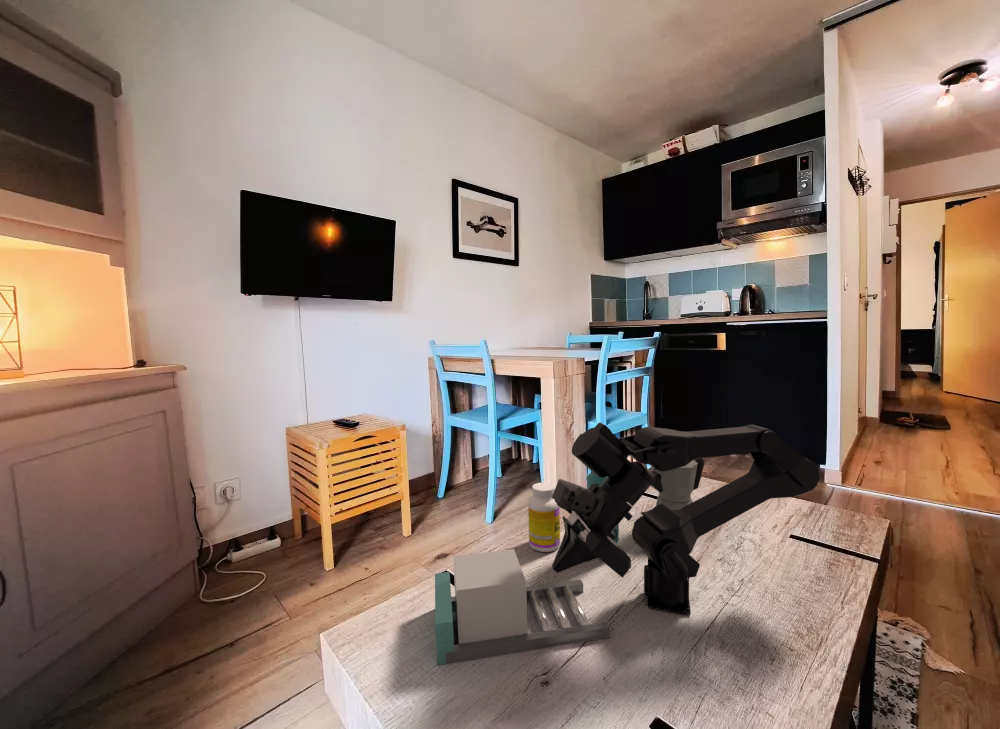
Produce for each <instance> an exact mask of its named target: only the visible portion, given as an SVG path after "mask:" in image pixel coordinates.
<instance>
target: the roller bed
mask: <svg viewBox="0 0 1000 729" xmlns="http://www.w3.org/2000/svg"><path fill="white" fill-rule="evenodd" d="M450 574H451V573H450V571H447V572H438V573H437V572H436V573H434V624H435V626H434V627H435V628H434V629H435V630H434V631H435V645H436V647H435V649H436V666H443V665H447V664H454V663H455V664H456V663H461V662H466V661H471V660H480V659H484V658H492V657H498V656H504V655H509V654H516V653H522V652H528V651H535V650H536V651H537V650H542V649H549V648H553V647H560V646H567V645H572V644H578V643H586V642H591V641H599V640H602V639H603V640H604V639H609V638H610V637H611V634H610V631H611V630H610V625H609V624H608V623H607V621H603V622H597V623H590V622H589V620H588V618H587V616H586V614H585V612H584V610H583V608H582V607H581V605H580V603H579V601H578V599H577V597H576V596H575V594H580V593H584V582H583V581H582V579H575V580H573V579H572V580H567V581H566V580H565V581H559V582H552V583H545V584H544V583H543V584H538V585H536V584H535V585H530V586H526V596H527V601H529V602H530V605H531V607H532V609H533V611H534V615H535V618H536V621H537V624H538V626H539V629H540V631H538V632H532V628H531V626H530V623H529V620H528V618H527V629H528V634H522V635H516V636H509V637H503V638H496V639H490V640H483V641H477V642H470V643H464V644H459V643H458V644H455V641H454V640H455V639H454V638H455V637H454V619H453V611H456V603H455V595H454V596H452V592H451V591H452V590H451V589H452V588H451V575H450ZM561 596H564V598H565V599H566V601H567V604H568V605H569V608H570V609H571V611H572V612H571V613H573V616H574V618H575V619H576V621H577V624H578V625H577V626H571V624H570V622H569V620H568V618H567V616H566V613H565V612H564V609H563V607H562V605H561V603H560V601H559V598H558V597H561ZM545 598H547V601H548V602H549V605H550V607H551V610H552V612H553V614H554V617H555V619H556V621H557V623H558V626H559V628H558V629H557V628H556V629H552V627H551V625H550V622H549V621H548V620H549V619H548V618H547V616H546V612H545V610H544V608H543V605H542V602H541V601H540V599H545Z"/></svg>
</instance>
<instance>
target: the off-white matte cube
mask: <svg viewBox="0 0 1000 729" xmlns="http://www.w3.org/2000/svg"><path fill="white" fill-rule="evenodd" d="M453 576H454V596H455V603H456V610H455V614H456V626H457V636H458V638H457V639H458V644H464V643H470V642H478V641H483V640H490V639H497V638H503V637H509V636H517V635H522V634H528V629H527V619H528V603H527V601H528V600H527V596H526V587H527V580H526V578H525V575H524V572H523V569H522V567H521V564H520V561H519V559H518V556H517V554H516V551H515V549H514V548H512V549H504V550H495V551H494V550H493V551H487V552H477V553H471V554H470V553H469V554H462V555H454V556H453Z"/></svg>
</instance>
